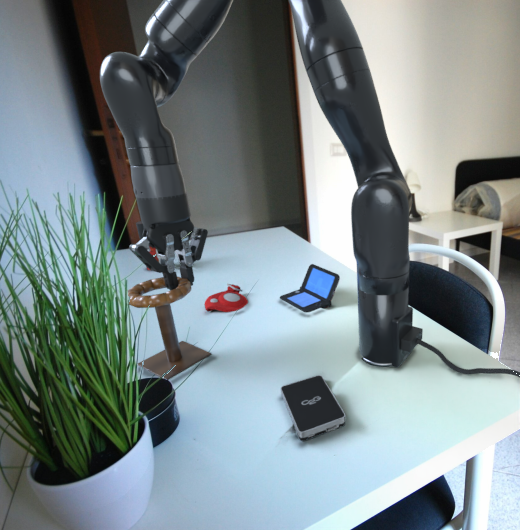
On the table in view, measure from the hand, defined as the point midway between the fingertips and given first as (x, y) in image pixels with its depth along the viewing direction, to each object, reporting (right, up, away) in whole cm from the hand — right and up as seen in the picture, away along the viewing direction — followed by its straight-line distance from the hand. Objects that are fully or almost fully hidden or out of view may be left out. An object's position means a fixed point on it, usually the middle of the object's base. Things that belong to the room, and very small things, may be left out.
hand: (181, 287), depth 67 cm
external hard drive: (+25, -18, -11) cm, 33 cm away
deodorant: (-34, +3, +52) cm, 62 cm away
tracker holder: (0, -6, +25) cm, 25 cm away
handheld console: (+20, -5, +26) cm, 33 cm away
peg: (-2, -14, +2) cm, 15 cm away
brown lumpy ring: (-2, 0, -3) cm, 4 cm away
